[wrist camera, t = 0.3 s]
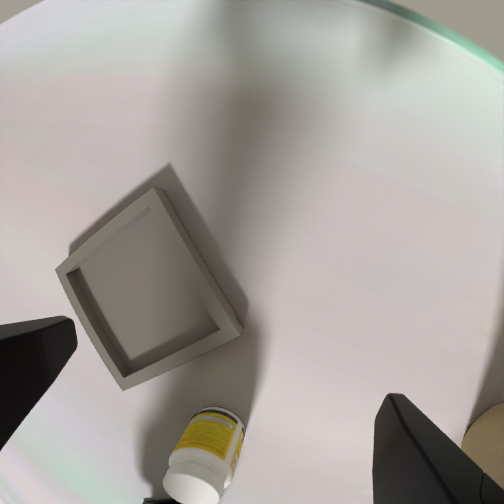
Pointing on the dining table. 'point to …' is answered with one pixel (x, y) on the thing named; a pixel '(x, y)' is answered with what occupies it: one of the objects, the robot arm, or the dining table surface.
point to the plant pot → (487, 442)
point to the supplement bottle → (205, 457)
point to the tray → (146, 293)
